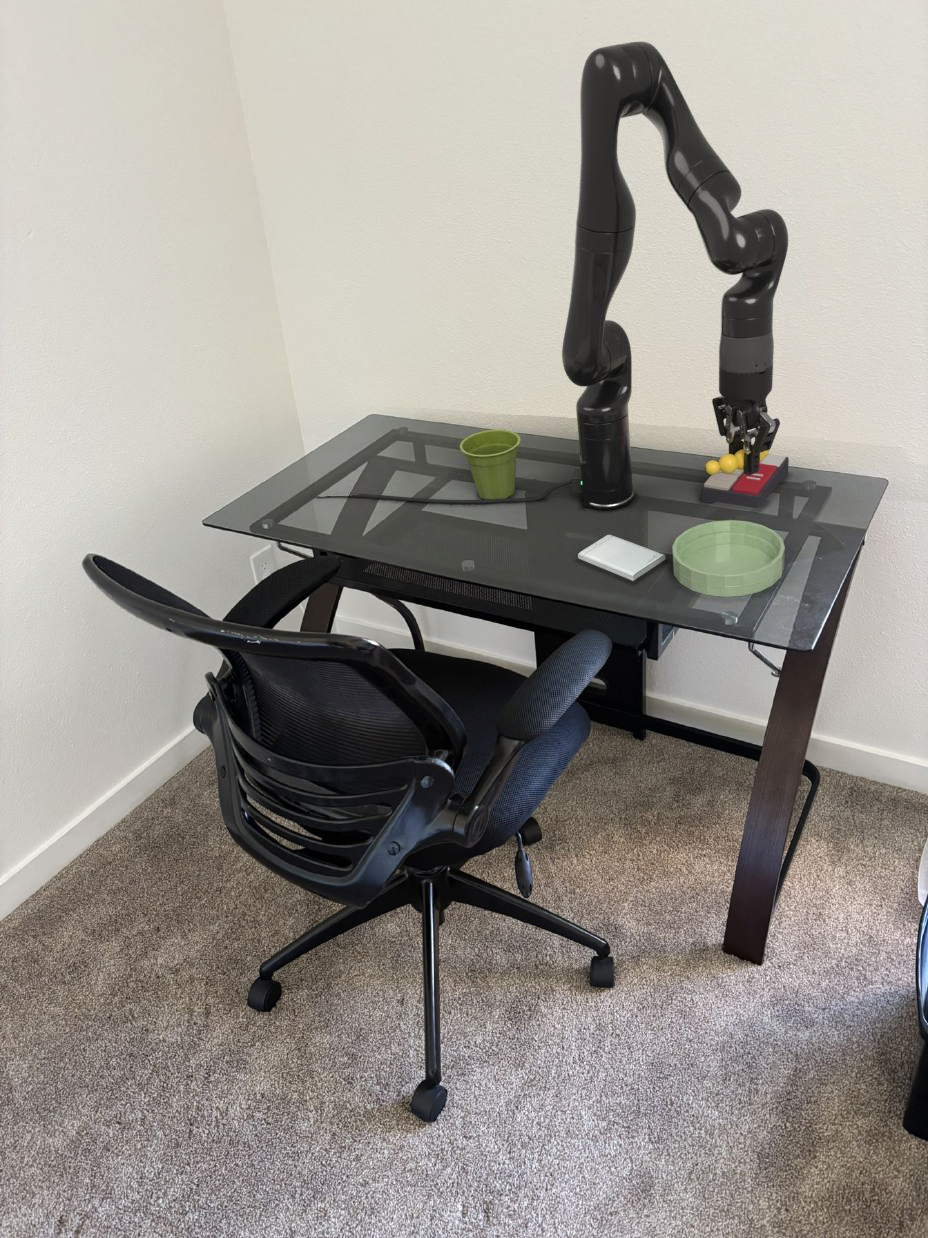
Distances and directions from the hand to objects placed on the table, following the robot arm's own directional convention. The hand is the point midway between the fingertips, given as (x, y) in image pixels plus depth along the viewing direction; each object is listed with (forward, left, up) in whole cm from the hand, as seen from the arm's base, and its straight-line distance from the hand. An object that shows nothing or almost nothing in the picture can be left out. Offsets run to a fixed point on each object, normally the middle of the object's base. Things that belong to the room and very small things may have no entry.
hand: (743, 468), depth 145 cm
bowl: (-3, -2, -17) cm, 17 cm away
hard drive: (-20, +3, -17) cm, 26 cm away
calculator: (+3, +26, -17) cm, 31 cm away
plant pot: (-44, +32, -17) cm, 57 cm away
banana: (0, 0, 0) cm, 0 cm away
